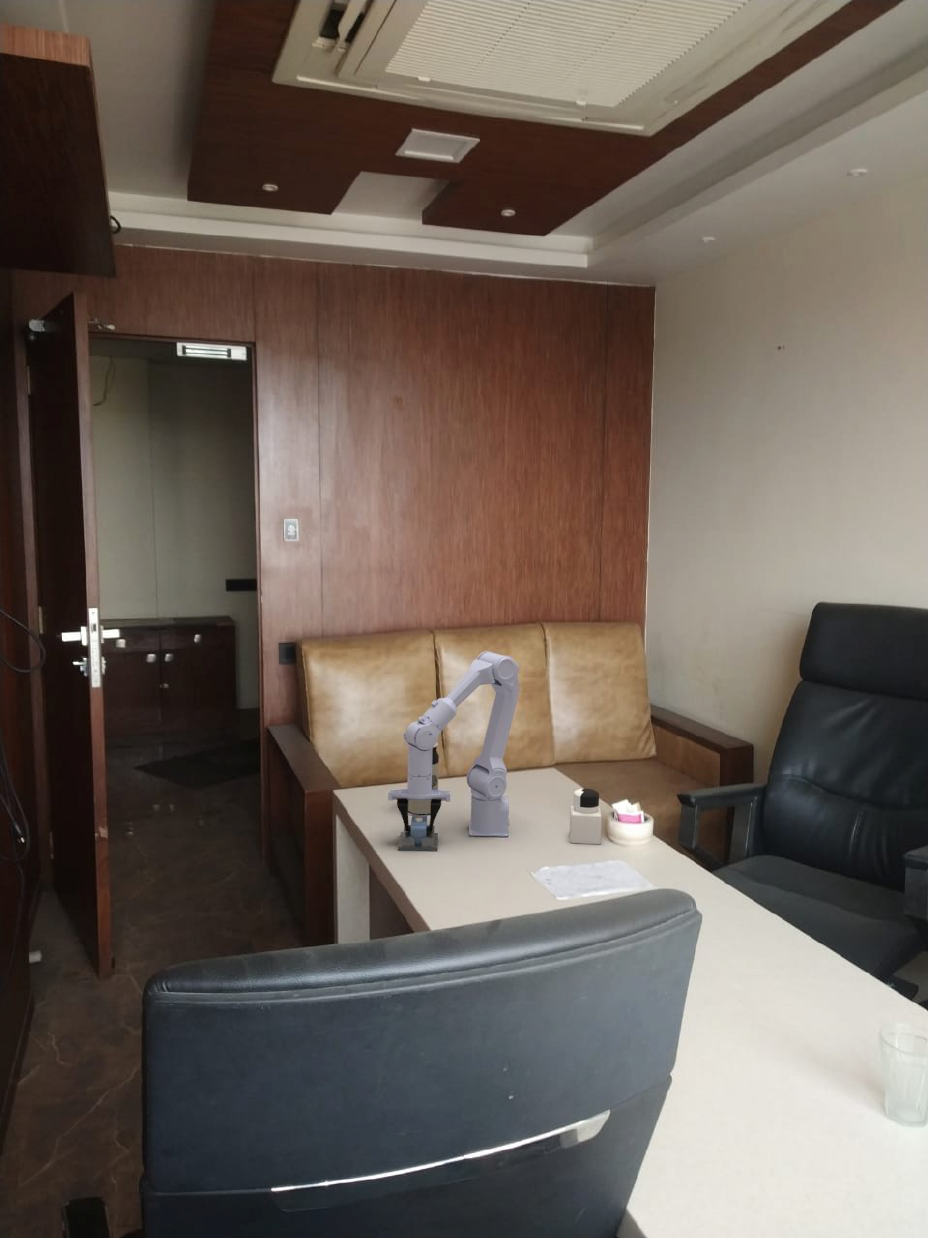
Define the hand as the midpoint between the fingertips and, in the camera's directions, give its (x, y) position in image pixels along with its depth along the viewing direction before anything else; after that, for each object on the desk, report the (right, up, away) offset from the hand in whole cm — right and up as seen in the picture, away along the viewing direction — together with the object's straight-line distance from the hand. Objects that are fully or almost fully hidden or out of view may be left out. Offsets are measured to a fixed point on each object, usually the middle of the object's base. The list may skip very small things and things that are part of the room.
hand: (418, 830), depth 206 cm
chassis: (0, -3, 0) cm, 3 cm away
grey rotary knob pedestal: (+40, -4, +6) cm, 40 cm away
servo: (0, -2, +1) cm, 2 cm away
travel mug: (0, -1, +24) cm, 24 cm away
